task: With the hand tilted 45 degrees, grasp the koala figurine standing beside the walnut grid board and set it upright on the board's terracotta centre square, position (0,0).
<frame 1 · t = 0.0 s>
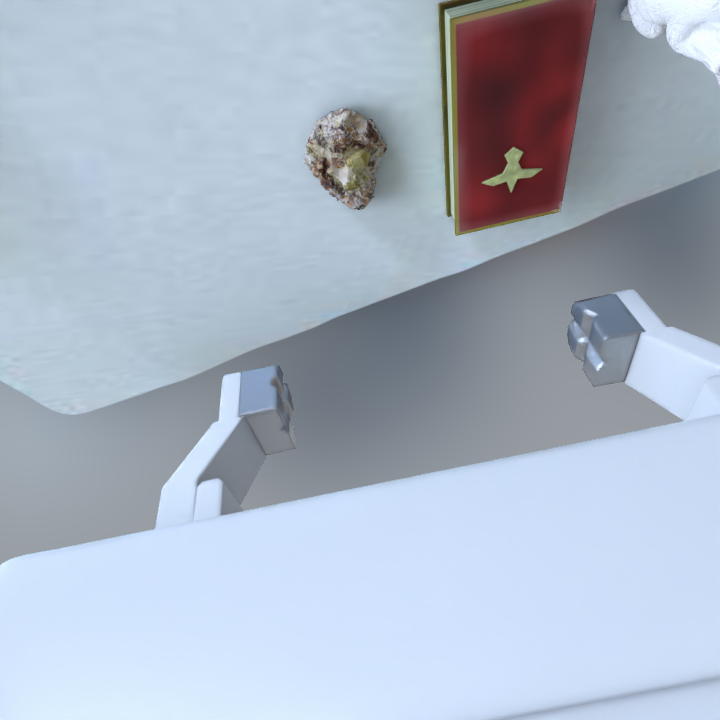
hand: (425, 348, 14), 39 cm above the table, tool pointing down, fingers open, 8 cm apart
mineral rock: (345, 155, 51), on the table
hardcover book: (502, 111, 49), on the table
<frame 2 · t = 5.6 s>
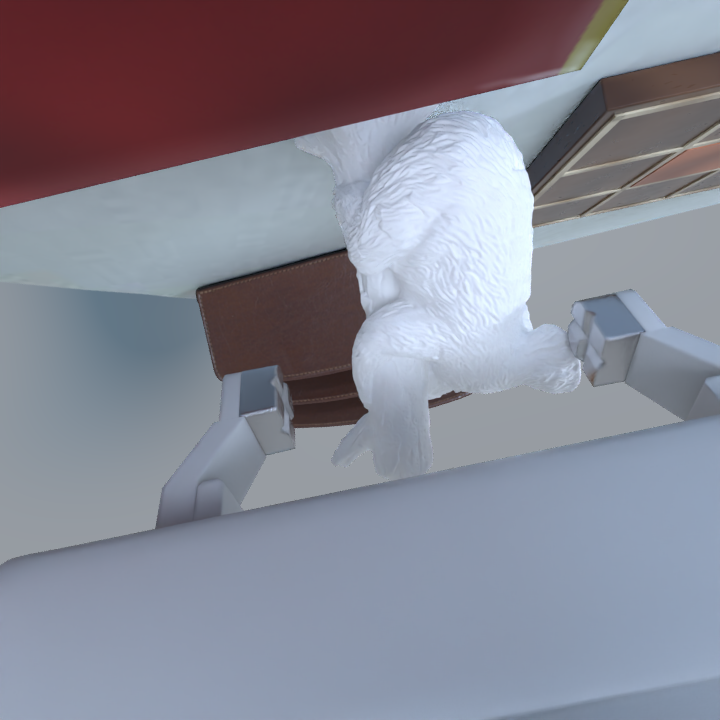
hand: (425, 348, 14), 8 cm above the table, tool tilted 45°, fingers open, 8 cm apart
letter holder: (328, 262, 42), on the table
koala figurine: (380, 85, 15), on the table, touching gripper
board: (702, 136, 27), on the table
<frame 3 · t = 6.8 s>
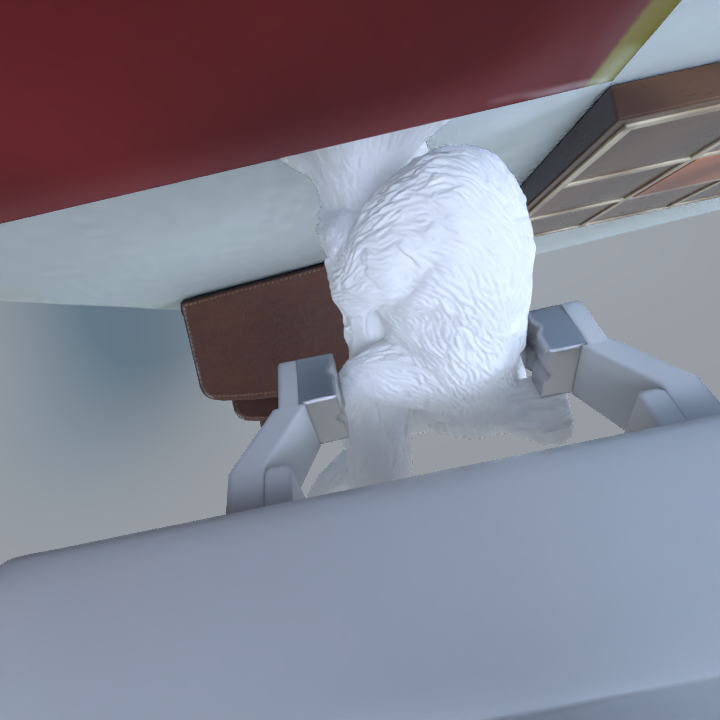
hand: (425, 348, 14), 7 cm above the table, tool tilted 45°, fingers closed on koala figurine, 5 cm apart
letter holder: (319, 272, 40), on the table
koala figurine: (373, 101, 14), on the table, touching gripper
board: (709, 144, 26), on the table
when the fingers open (8 cm above the table, at t = 16.6 s): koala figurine stays where it is, resting on board.
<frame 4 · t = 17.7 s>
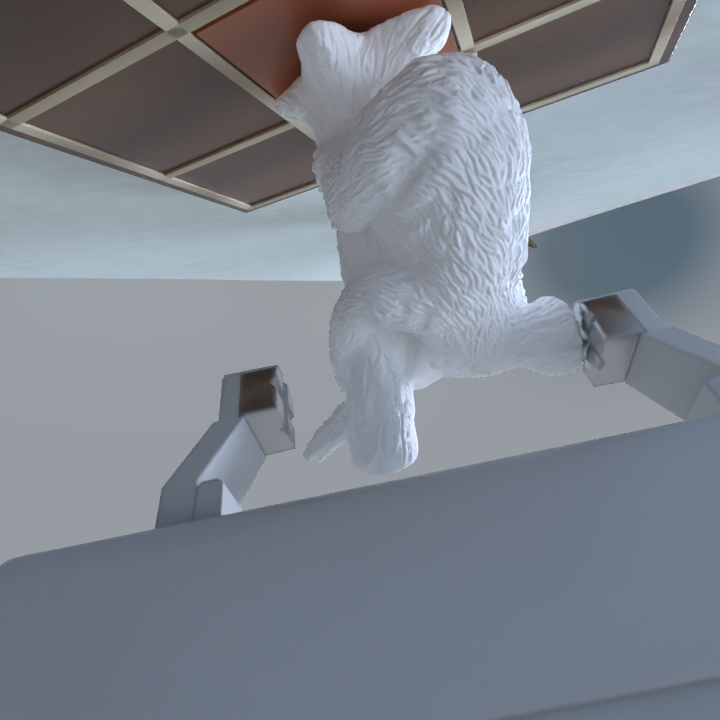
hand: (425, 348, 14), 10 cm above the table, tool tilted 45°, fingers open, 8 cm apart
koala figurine: (367, 43, 14), point 1 cm above the table, touching board, gripper
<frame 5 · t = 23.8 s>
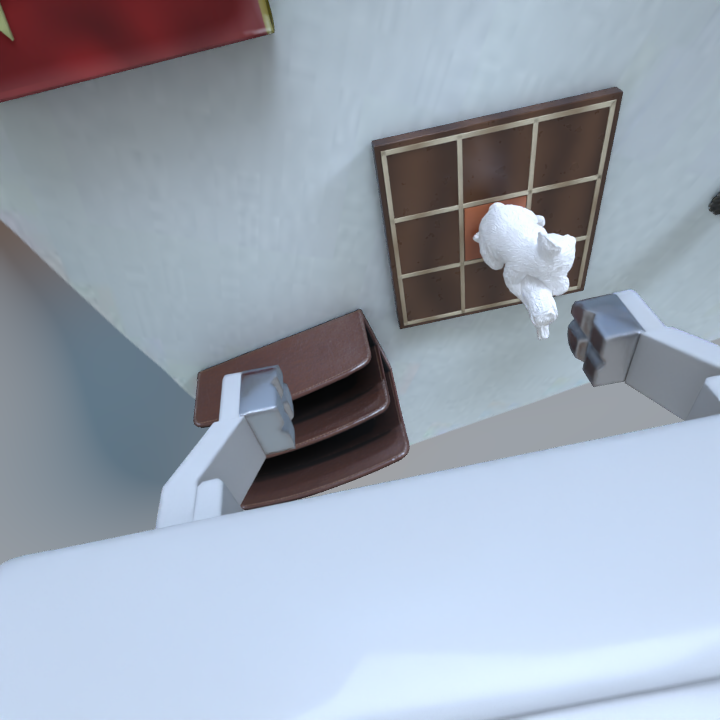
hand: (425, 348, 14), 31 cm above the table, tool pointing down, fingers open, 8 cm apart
letter holder: (296, 366, 58), on the table
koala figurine: (500, 222, 46), point 1 cm above the table, touching board
board: (490, 222, 47), on the table
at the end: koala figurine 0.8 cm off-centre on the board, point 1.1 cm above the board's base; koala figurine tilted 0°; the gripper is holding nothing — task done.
